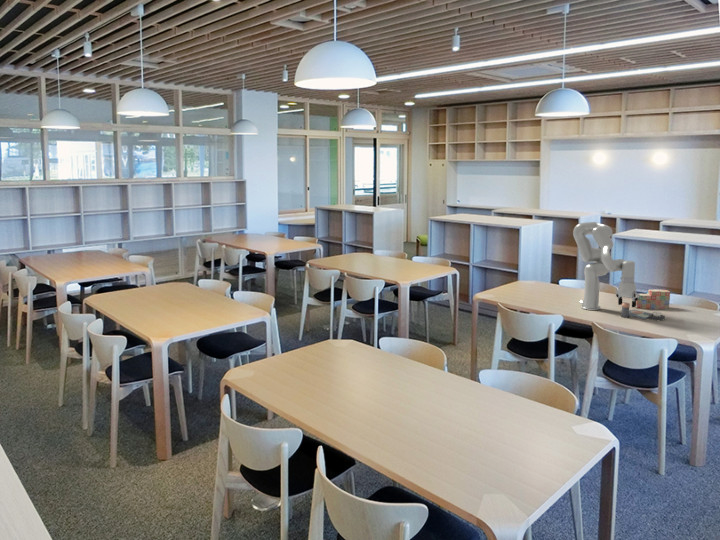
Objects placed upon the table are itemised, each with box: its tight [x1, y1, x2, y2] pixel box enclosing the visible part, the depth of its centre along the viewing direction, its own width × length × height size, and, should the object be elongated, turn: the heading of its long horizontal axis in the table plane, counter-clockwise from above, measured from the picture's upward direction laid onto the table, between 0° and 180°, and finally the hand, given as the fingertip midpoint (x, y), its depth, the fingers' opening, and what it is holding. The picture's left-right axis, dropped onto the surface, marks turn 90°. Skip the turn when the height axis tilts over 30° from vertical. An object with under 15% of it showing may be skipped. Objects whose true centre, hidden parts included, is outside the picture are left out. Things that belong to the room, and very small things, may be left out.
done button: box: [652, 311, 662, 317], centre depth 380 cm, size 5×5×2 cm
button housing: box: [648, 313, 666, 321], centre depth 380 cm, size 7×7×2 cm
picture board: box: [620, 309, 653, 320], centre depth 391 cm, size 17×14×1 cm
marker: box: [620, 302, 631, 319], centre depth 386 cm, size 5×5×9 cm
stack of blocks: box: [635, 289, 671, 310], centre depth 408 cm, size 21×6×12 cm, turn 84°
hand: (626, 305), depth 384 cm, fingers open, 9 cm apart
